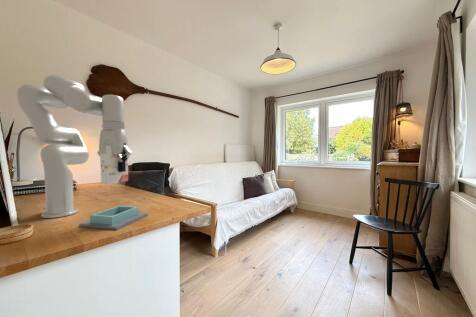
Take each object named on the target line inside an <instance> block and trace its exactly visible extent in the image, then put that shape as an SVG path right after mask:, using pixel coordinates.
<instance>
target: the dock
mask: <svg viewBox="0 0 476 317" xmlns="http://www.w3.org/2000/svg"><path fill="white" fill-rule="evenodd" d="M148 216H149V213H148V212H139V206H129V205H117V206H114V207H112V208H108V209H105V210H102V211H99V212H96V213H93V214H90V215H89V219H88V220H86V221H83V222H80V223H79V225H78V227H80V228H81V227H82V228H91V229H92V228H93V229H103V230H111V231H118V230H120V229H123V228H124V227H127V226H128V225H131V224H133V223H135V222H137V221H140V220H141V219H143V218H146V217H148Z"/></svg>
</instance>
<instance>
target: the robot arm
mask: <svg viewBox="0 0 476 317" xmlns="http://www.w3.org/2000/svg"><path fill="white" fill-rule="evenodd" d="M85 89H86V88H85V87H84V85H83V84H82V83H80V82H78V81H76V80H74V79H70V78H67V77H64V76H62V75H56V74H51V75H47V76H46V77H45V78H44V79H43V85H38V84H32V83H27V84H26V83H25V84H22V85H20V86H19V87H18V88H17V93H16V95H17V96H16V97H17V103H18V105H19V107H20V109H21V110H22V112H23V113H24V114H25V116H26V117H27V118H28V119H29V122H30V125H31V127H32V130H33V131H34V133H35V136H36V138H37V140H38V141H39V142H40V143H41V144H44V146H43V147H42V148H41V151H40V159H41V163H42V166H43V173H44V174H43V175H44V188H45V189H44V192H45V195H44V196H45V197H44V198H45V205H43V206H42V207H41V209H42V210H44V212H43V213H42V212H41V214H40V217H41V218H43V219H53V218H54V219H56V218H62V217H67V216H71V215H74V214H76V213H78V212H79V209H78V207H75V206H74V203H75V202H74V180H73V179H74V178H73V177H74V176H73V173H72V170H71V169H70V168H69V166H71V165H74V166H75V165H82V164H85V163H86V162H88V160H89V151H88V148H87V146H86V143H85V141H84V140H83V137H82V135H81V133H80V132H79V130H78V128H76V127H74V126H70V125H63V124H59V123H58V122H57V121H56V119H55V117H54V115H53V114H52V113H51V111H50V110H48V109H47V108H45V107H50V108H51V107H52V108H55V109H65V108H70V109H73V110H74V111H77V112H79V113H82V114H89V115H94V116H98V117H99V116H100V117H102V123H101V127H102V129H101V131H100V133H99V134H100V135H99V142H98V143H99V144H98V151H97V155H98V156H99V157H100V154H102V153H106V146H111V151H112V155H117V156H118V159H119V161H120V162H118V172H124V171H126V165H125V162H126V161H127V159H129V158H130V156H131V155H132V153H133V152H132V150H131V149H130V148H129V143H128V137H127V132H126V130H125V103H124V102H125V101H124V98H123V97H121V96H119V95H117V94H104V95H103V96H102V97H101V96H97V95H94V94H90V93H86V90H85ZM44 106H45V107H44ZM123 149H124V151H123ZM120 153H122V154H120ZM121 156H122V157H121Z"/></svg>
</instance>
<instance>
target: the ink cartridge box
mask: <svg viewBox="0 0 476 317" xmlns="http://www.w3.org/2000/svg"><path fill="white" fill-rule="evenodd" d="M123 151H124V149H123ZM120 154H122V153H120ZM99 157H100V161H99V162H100V164H99V165H100V183H101V184H107V185H108V184H117V183H123V182H124V183H125V182H128V181H129V160H128V159H129V158H128V159H127V161H126V162H125V165H126V171H124V172H118V162H120V161H119V159H118V156H117V155H112V151H111V146H106V153H102V154H100V156H99ZM121 157H122V156H121Z"/></svg>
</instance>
